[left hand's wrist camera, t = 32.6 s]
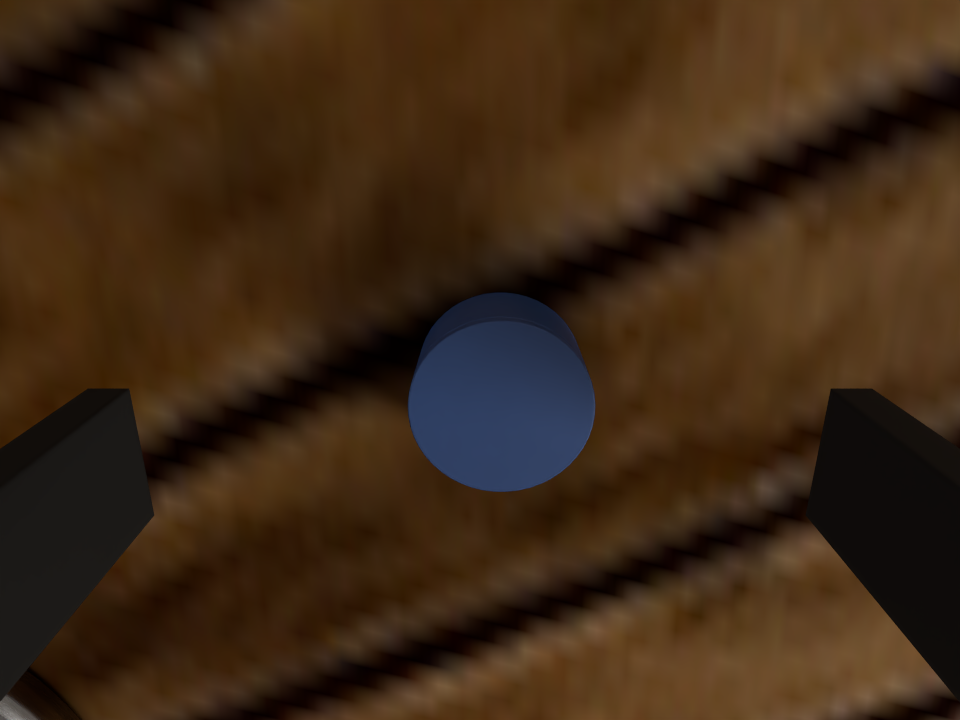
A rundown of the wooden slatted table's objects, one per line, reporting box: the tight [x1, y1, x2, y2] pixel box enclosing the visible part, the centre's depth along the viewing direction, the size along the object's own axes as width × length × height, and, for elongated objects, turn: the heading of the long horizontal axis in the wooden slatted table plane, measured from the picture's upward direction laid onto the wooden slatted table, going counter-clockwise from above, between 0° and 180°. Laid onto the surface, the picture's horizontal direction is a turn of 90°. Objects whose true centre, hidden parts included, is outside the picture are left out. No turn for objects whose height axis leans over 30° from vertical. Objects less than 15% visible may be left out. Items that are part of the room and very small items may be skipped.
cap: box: [408, 293, 595, 492], centre depth 15 cm, size 4×4×2 cm
